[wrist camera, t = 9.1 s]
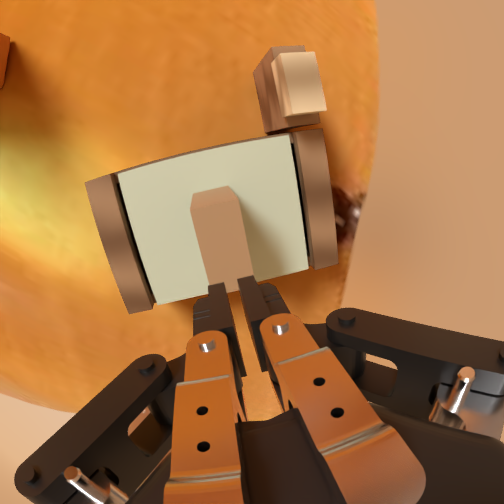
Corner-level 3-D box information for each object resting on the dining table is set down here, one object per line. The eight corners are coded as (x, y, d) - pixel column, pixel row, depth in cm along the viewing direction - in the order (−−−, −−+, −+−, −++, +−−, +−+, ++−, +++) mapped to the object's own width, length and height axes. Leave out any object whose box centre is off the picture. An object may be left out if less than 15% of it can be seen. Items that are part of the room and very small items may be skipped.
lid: (302, 262, 30) (338, 303, 22) (159, 296, 28) (148, 350, 20) (283, 135, 25) (320, 130, 17) (122, 172, 24) (87, 183, 16)
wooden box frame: (307, 236, 37) (338, 263, 28) (143, 275, 35) (129, 314, 26) (278, 69, 29) (305, 45, 21) (100, 108, 27) (68, 97, 19)
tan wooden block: (312, 114, 23) (326, 110, 20) (282, 117, 23) (292, 113, 20) (301, 61, 21) (314, 51, 18) (270, 63, 21) (280, 53, 18)
